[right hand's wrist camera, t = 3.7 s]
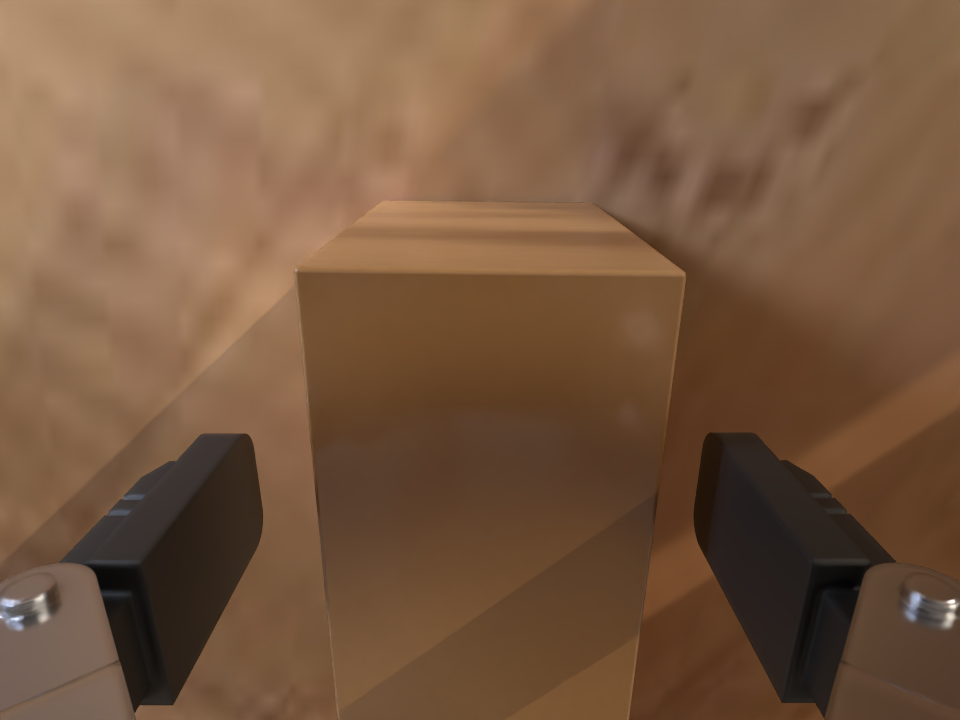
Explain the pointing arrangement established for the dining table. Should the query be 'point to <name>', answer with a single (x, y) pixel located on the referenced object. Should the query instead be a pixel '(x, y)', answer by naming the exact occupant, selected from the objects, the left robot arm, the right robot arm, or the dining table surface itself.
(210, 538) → the right robot arm
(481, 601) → the bar
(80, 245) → the dining table surface
